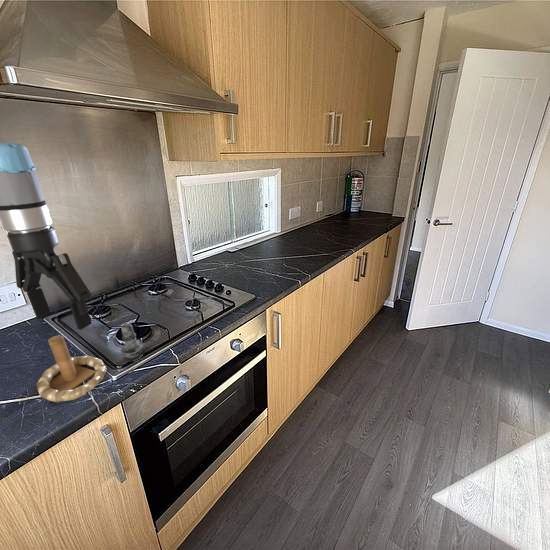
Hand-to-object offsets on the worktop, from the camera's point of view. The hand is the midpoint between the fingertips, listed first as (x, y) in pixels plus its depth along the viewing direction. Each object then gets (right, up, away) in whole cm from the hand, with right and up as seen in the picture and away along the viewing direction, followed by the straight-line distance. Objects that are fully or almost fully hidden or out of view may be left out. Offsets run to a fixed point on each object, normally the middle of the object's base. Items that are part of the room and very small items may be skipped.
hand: (63, 321), depth 66 cm
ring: (-4, -16, +8) cm, 18 cm away
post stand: (-5, -17, +10) cm, 20 cm away
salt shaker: (+8, -14, +18) cm, 24 cm away
